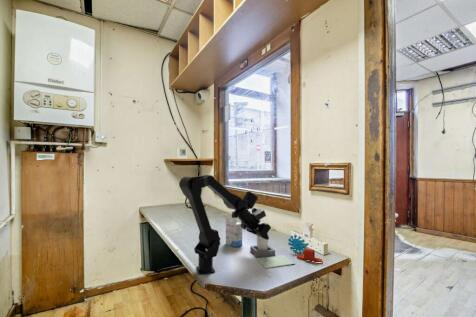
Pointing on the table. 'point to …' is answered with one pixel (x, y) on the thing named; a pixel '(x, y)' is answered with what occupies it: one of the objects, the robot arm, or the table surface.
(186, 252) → the table surface
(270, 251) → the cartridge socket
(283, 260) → the pad
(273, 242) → the table surface
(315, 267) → the table surface
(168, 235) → the table surface
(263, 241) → the cylinder
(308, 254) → the bracket
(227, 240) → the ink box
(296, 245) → the gear
